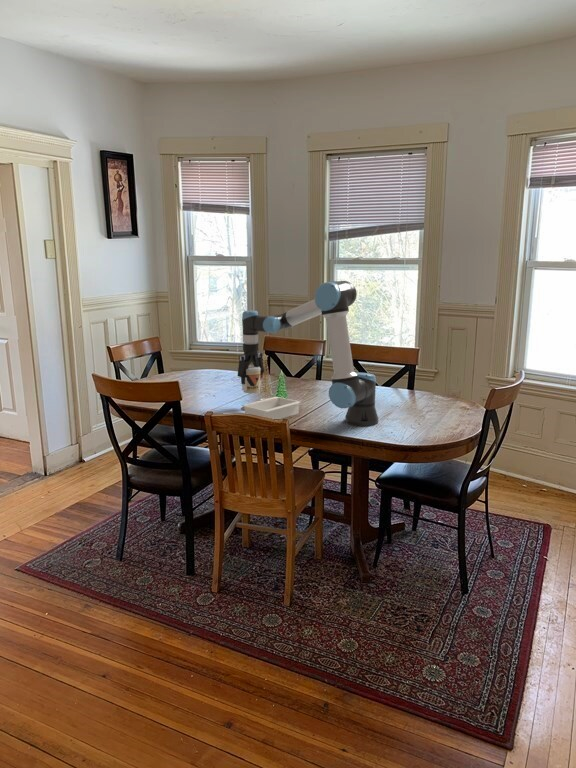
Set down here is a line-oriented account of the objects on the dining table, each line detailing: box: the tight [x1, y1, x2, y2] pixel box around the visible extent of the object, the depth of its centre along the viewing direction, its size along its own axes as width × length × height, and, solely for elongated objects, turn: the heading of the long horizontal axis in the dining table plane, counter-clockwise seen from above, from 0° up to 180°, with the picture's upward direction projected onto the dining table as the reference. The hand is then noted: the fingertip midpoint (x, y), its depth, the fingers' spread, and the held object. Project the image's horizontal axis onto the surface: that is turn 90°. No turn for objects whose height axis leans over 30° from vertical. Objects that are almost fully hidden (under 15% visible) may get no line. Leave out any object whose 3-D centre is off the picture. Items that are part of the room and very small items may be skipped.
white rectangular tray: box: [241, 396, 303, 420], centre depth 271 cm, size 23×17×6 cm
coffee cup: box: [242, 365, 262, 394], centre depth 280 cm, size 9×9×12 cm
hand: (251, 388), depth 281 cm, fingers closed on coffee cup, 8 cm apart
